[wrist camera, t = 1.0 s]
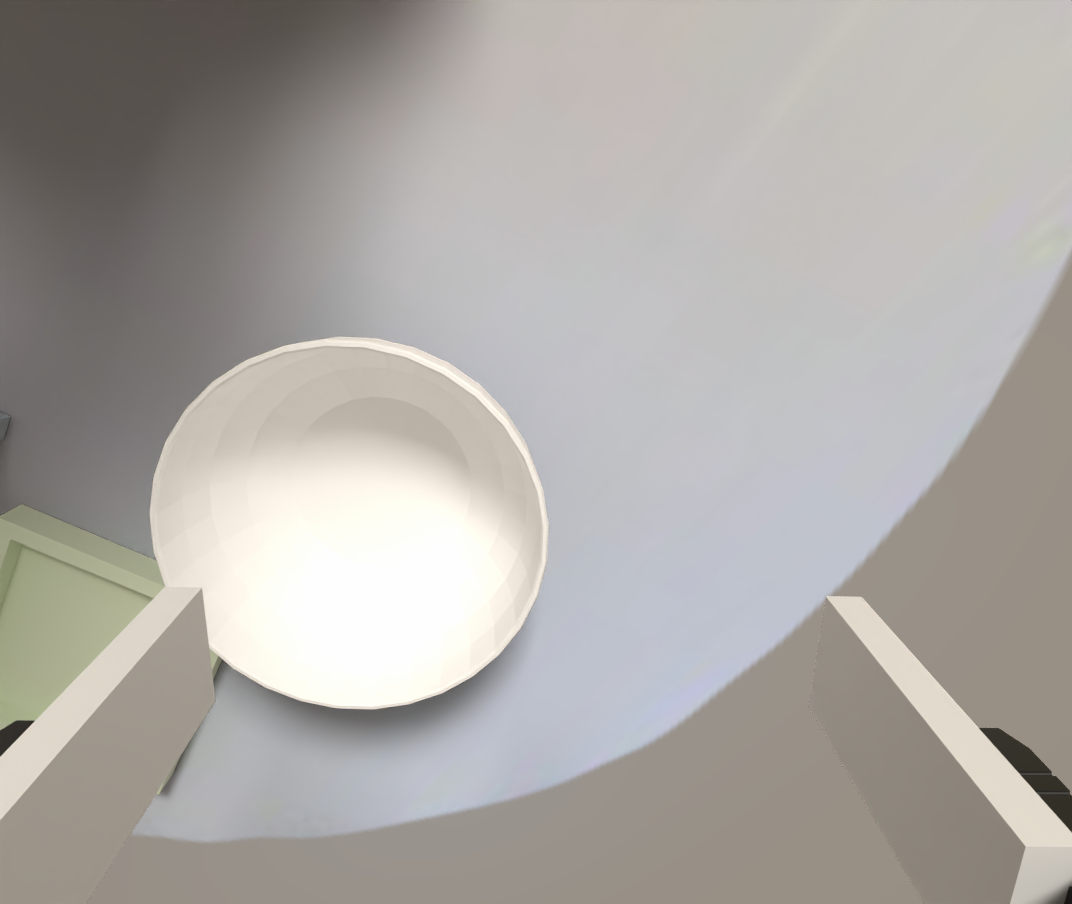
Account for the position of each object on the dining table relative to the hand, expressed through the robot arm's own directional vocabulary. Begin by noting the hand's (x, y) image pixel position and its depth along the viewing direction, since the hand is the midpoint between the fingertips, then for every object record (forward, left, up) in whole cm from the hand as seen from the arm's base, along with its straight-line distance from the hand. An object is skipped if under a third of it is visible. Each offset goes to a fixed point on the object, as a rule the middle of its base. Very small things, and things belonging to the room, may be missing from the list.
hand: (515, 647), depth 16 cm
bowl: (+1, -10, -28) cm, 30 cm away
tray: (+1, -31, -28) cm, 41 cm away
